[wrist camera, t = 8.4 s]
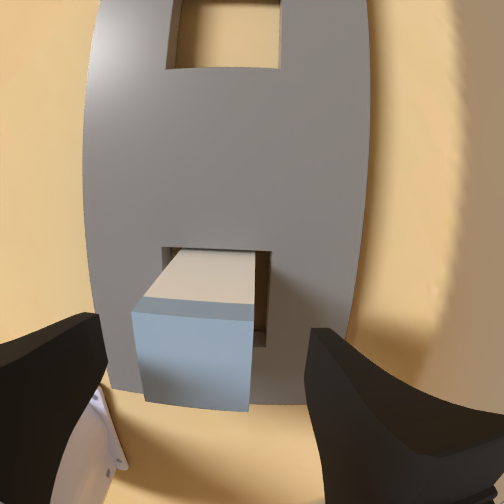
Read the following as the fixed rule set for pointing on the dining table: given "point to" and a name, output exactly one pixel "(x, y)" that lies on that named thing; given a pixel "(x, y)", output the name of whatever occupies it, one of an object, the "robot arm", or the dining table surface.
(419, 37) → the dining table surface
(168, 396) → the plug
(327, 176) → the socket board
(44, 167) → the dining table surface
